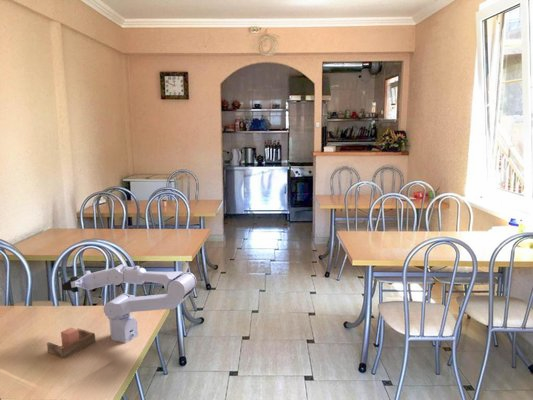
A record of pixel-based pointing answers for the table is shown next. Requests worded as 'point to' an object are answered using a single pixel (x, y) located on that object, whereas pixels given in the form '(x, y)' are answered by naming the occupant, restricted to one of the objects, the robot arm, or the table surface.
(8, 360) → the table surface
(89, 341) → the box
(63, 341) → the block
